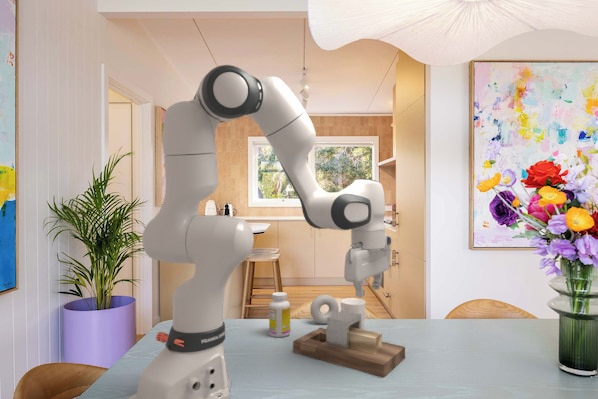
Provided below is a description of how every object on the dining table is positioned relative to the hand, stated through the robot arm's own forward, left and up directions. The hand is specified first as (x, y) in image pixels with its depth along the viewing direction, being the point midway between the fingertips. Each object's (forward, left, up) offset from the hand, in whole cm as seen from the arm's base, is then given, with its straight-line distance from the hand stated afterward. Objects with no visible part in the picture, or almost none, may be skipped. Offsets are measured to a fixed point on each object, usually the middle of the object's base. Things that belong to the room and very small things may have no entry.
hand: (368, 292), depth 102 cm
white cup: (+17, +14, -18) cm, 28 cm away
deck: (0, +6, -18) cm, 19 cm away
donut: (+19, +26, -18) cm, 37 cm away
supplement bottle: (+2, +32, -18) cm, 37 cm away
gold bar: (0, +4, -15) cm, 15 cm away
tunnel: (0, +7, -15) cm, 16 cm away
